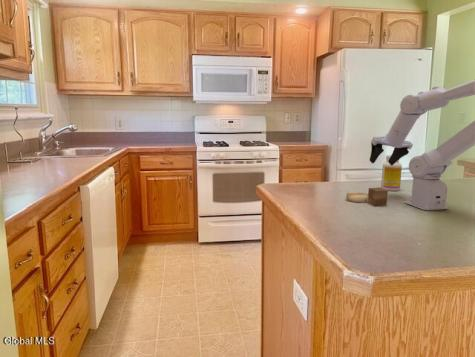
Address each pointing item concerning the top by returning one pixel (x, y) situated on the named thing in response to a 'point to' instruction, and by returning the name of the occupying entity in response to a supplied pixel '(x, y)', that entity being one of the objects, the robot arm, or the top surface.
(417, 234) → the top surface
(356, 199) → the maple plinth
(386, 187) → the supplement bottle
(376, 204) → the walnut block
